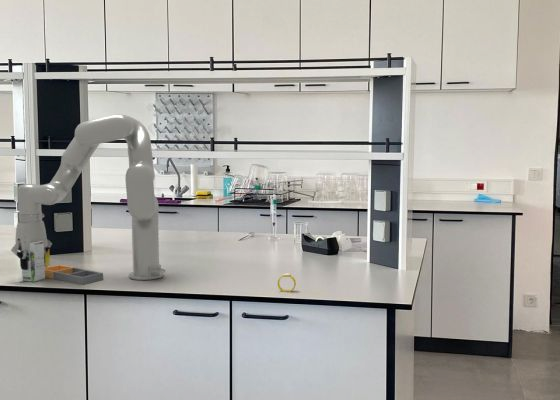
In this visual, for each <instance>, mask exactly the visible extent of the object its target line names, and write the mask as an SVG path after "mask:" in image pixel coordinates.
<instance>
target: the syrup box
mask: <svg viewBox="0 0 560 400" xmlns="http://www.w3.org/2000/svg"><path fill="white" fill-rule="evenodd" d="M26 259H27V263H28V269H27V270H23V269H21V274H22V279H21V280H22V281H24V282H25V281H26V282H32V283H34V282H38V281H42V280H45V279H46V277H45V265H44V242H43V240H41V241H34V242H30V248H29V251H28V252H27V255H26Z"/></svg>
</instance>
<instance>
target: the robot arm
mask: <svg viewBox="0 0 560 400" xmlns="http://www.w3.org/2000/svg"><path fill="white" fill-rule="evenodd" d="M118 140H119V141H120V140H125V142H126V145H127V155H128V168H127V170H126V171H125V172H126V173H125V190H126V201H127V210H128V213H129V215H130V216H131V240H132V241H131V243H132V244H131V245H132V272H129V273H128V278H129V279H131V280H137V281H148V280H157V279H161V278H162V277H164V275H165V274H164V273H166V269H165V268H162V264H161V263H160V250H159V249H160V245H159V243H160V242H159V239H160V237H159V235H160V233H159V231H160V230H159V208H160V207H159V201H158V198H157V197H156V195H155V185H154V184H155V183H154V181H155V178H156V177H155V175H156V174H155V168H154V159H153V149H152V141H151V137H150V134H149V131H148V130H147V128H146V126H145V125H144V124H143V123H142V122H140V120H137V119H135V118H133V117H131V116H130V115H127V114H126V115H125V114H114V115H110V116H105V117H101V118H96V119H92V120H87V121H83V122H80V123H79V124H78V125H77V126H76V128H75V129H74V137H73V139H72V140H71V141H70V143H69V144H68V146H67V147H66V149H65V150H64V152H63V153H62V155H61V161H60V166H59V168H58V170H57V171H56V173H55V175H54V176H53V177H52V179H51V180H50V182H49V183H45V184H37V183H24V184H19V186H18V188H17V199H18V200H17V201H18V217H19V218H18V219H19V221H18V222H17V224H16V230H15V244H13V245H14V246H12V248H10V251H11V252H12V253H13V254H14V255H15V256H17V258H18V259H19V264H20V265H19V266H20V268H21V270H22V269H23V270H27V269H28V263H27V259H26V255H27V252H28V251H29V248H30V242H34V241H41V240H43V242H44V265H45V255H46V254H47V252H48V250H49V251H50V248H51V247H52V245H53V243H52V242H51V241H50V240H49V239H48V238H47V233H46V232H47V230H46V226H45V222H44V220H43V218H45V214H44V213H43V211H42V205H45V206H51V205H55V204H58V203H60V202H62V201H63V200H64V199H65V198H66V196H67V195H68V193H70V190H71V189H72V188H73V186H74V185H75V183H76V181H77V180H78V178H79V176H80V174H81V173H82V172H83V170H84V168H85V167H86V164H87V163H88V161H89V160H90V159H91V157H92V155H93V154H94V152H95V151H96V150H97V148H98V147H99V145H100V144H105V143H110V142H114V141H118Z"/></svg>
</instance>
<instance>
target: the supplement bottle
mask: <svg viewBox="0 0 560 400" xmlns="http://www.w3.org/2000/svg"><path fill="white" fill-rule="evenodd" d="M50 258H51V257H50V249H49V250H48V252H47V254H46V255H45V267H50V266H51V259H50Z"/></svg>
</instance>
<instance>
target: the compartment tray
mask: <svg viewBox="0 0 560 400" xmlns="http://www.w3.org/2000/svg"><path fill="white" fill-rule="evenodd" d="M45 278H50V279H54V280H58V281H59V280H60V281H63V282H68V283H71V284H76V285H86V284H87V285H88V284H91V283H96V282H99V281H103V280H104V273H103V272H100V271H94V270H90V269H85V268H79V267H75V266H70V265H69V266H68V265H63V264H57V265H52V266H51V265H50V267H45Z"/></svg>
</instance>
